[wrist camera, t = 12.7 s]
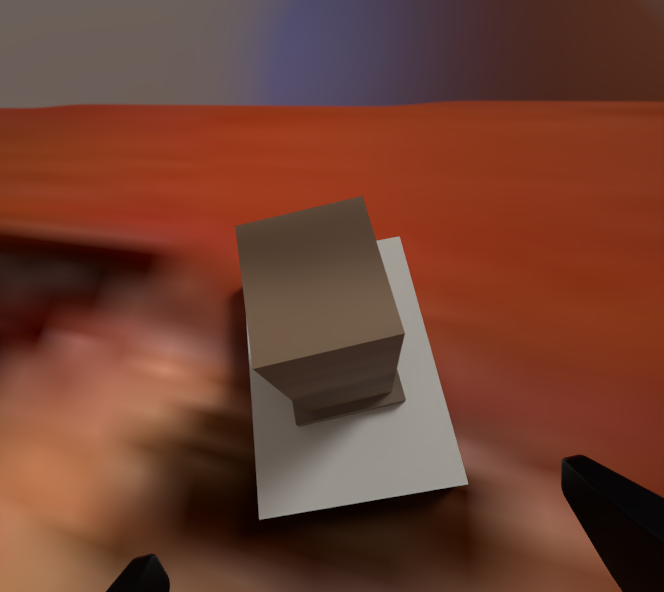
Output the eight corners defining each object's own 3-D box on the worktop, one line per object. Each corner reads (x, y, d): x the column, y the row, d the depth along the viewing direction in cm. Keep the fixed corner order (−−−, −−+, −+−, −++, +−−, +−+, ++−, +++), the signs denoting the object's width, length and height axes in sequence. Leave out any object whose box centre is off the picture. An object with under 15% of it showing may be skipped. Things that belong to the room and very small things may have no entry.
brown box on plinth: (404, 402, 19) (431, 345, 10) (298, 426, 19) (233, 391, 10) (375, 298, 22) (375, 180, 13) (281, 320, 22) (216, 218, 13)
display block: (459, 482, 19) (468, 484, 18) (269, 514, 20) (259, 519, 18) (397, 252, 25) (399, 236, 24) (252, 280, 26) (242, 266, 24)
